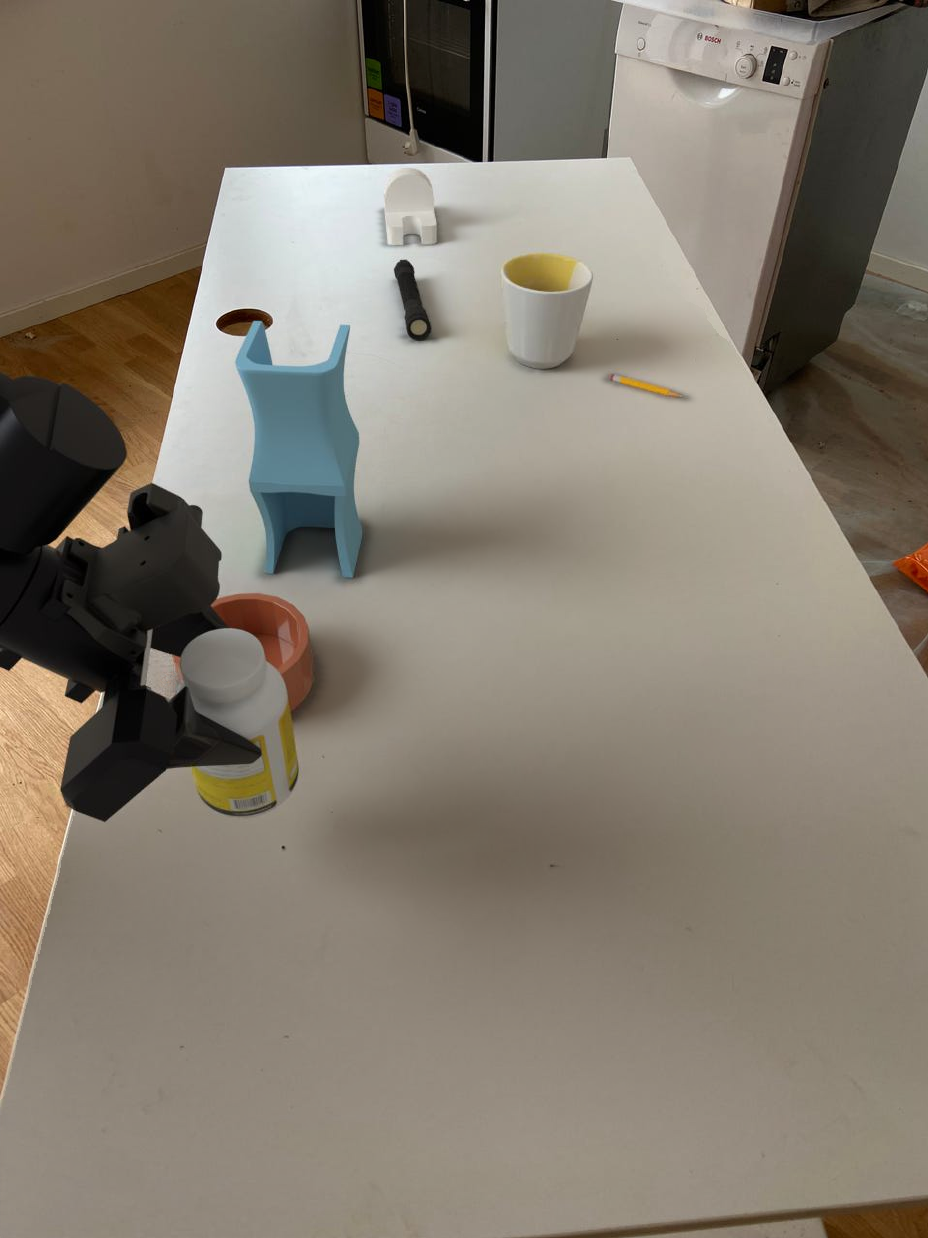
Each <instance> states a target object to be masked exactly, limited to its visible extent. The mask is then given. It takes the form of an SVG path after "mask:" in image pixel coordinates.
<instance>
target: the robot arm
mask: <svg viewBox="0 0 928 1238" xmlns="http://www.w3.org/2000/svg"><path fill="white" fill-rule="evenodd" d="M127 455H128V451H127V446H126V442H125V440H124V437H123V435H122V434H121V432H120V430H119V428H118V427H117V425H116V424H115V423H114V421H113V420H112V419H111V417H110V416H109V415H108V414H107V413H106V412H105V411H104V409H102V408H101V407H100V406H99V405H98V404H96V402H94V401H93V400H92V399H91V398H90V397H88V396H87V395H86V394H84V393H82V392H81V391H80V390H78V389H77V388H76V387H73V386H72V385H70V384H68V383H66V382H61V383H58V382H55V381H53V380H50V379H48V378H43V377H40V376H35V375H23V376H19V377H15V378H12V377H11V376H9V375H7V374H5V372H2V371H0V668H1V669H3V670H5V671H7V672H10V671H11V670H12V669H13V668H14V667H15V666H16V665H17V664H18V663H19V661H21V659H23V660H25V661H27V662H29V663H31V664H34V665H36V666H38V667H40V668H43V669H45V670H46V671H49V672H51V673H53V674H56V675H58V676H60V677H62V678H64V679H67V681H66V682H67V683H66V687H65V692H64V697H65V698H68V699H70V700H72V701H75V702H77V703H79V704H81V705H82V704H84V702H85V701H86V700H88V698H90V696H92V694H94V693H95V692H99V693H101V694H102V693H104V694H103V699H102V705H101V707H100V708H99V710H97V711H96V712H95V713H94V714H93V715H91V717H90V718H89V719H88V720H87V721H86V722H84V724H82V725H81V727H79V728H78V729H77V730H76V731H75V732H74V733H73V734H72V735H70V737H69V742H68V747H67V752H66V757H65V762H64V767H63V773H62V778H61V782H60V783H61V784H60V788H59V791H60V793H61V796H62V798H63V799H64V802H65V805H66V806H67V807H68V808H70V809H71V810H73V811H74V812H78V813H79V814H82V815H85V816H87V817H89V818H93V819H94V820H95V819H96V820H98V821H101V822H103V823H106V822H107V821H108V820H109V819H111V818H112V817H113V816H115V815H116V814H117V813H118V812H119V811H120V810H121V809H122V808H124V807H125V806H126V805H127V804H129V802H131V801H132V800H133V799H135V798H136V796H137V795H139V794H140V793H141V792H142V791H143V790H145V789H146V788H147V787H149V786H150V785H151V784H152V783H153V782H154V781H156V779H158V778H159V777H160V776H161V775H163V774H164V773H165V772H166V771H167V770H172V769H178V768H191V767H197V766H218V765H240V764H252V763H254V762H255V761H256V760H257V759H259V758H260V757H261V756H262V750H261V749H260V748H259V747H258V746H256V745H255V744H253V743H252V742H250V741H249V740H248V739H246V738H244V737H243V736H241V735H239V734H237V733H235V732H233V731H232V730H230V729H228V728H226V727H224V726H222V725H220V724H219V723H217V722H215V721H213V720H211V719H209V718H208V717H206V716H204V715H202V714H200V713H198V712H197V711H196V710H195V709H194V705H193V702H192V698H191V695H190V692H189V689H188V687H187V686H185V687H184V688H183V689H181V690H180V691H179V692H178V693H177V694H176V693H175V695H173V697H171V698H168V697H166V696H165V695H162V694H161V693H158V692H156V691H153V690H152V687H150V686H148V685H147V677H148V671H149V662H150V661H149V660H150V656H151V655H150V654H151V649H152V650H154V651H157V652H162V653H165V654H168V655H171V656H173V655H174V656H178V657H181V655H182V652H183V650H184V649H185V648H186V646H187V645H188V644H189V643H190V642H191V641H192V640H194V639H195V638H196V637H198V636H200V635H202V634H204V633H206V632H209V631H213V630H217V629H224V628H229V626H227V624H226V623H225V622H224V621H223V620H222V619H221V618H220V616H219V615H218V614H217V613H216V612H215V610H214V609H213V608H212V607H211V604H213V602H214V601H215V600H216V599H218V598H219V594H220V589H221V584H220V580H219V569H220V568H219V567H220V562H221V561H222V558H223V556H222V555H223V553H222V551H221V549H220V548H219V546H217V544H216V543H215V542H214V541H213V539H212V538H211V537H210V536H209V535H208V534H207V532H206V531H205V530H204V529H203V527H202V526H203V514H204V512H203V509H202V508H201V507H200V506H199V505H197V504H189V503H187V501H186V500H185V499H184V498H183V497H181V496H179V495H178V494H176V493H174V492H172V491H169V490H168V489H166V488H164V487H162V486H160V485H158V484H156V483H154V482H150V483H148V484H146V485H143V486H141V487H139V488H137V489H135V490H132V492H130V494H129V498H128V499H129V500H128V503H127V504H128V505H127V510H126V515H127V521H128V525H129V529H128V527H126V526H125V525H124V526H122V527H119V528H118V530H117V537H116V539H115V540H114V541H112V542H110V543H108V544H106V545H105V546H103V547H101V546H98V545H94V544H93V543H90V542H88V541H87V540H85V539H83V538H81V537H75V538H72V537H71V536H68V535H66V536H65V537H64V538H63V540H61V541H60V543H58V545H57V546H56V547H52V546H51V545H50V544H52V543H54V542H55V541H56V540H57V539H59V537H60V536H61V535H62V534H63V533H64V531H65V530H66V529H67V528H68V527H69V526H70V525H71V523H72V522H73V521H75V519H76V518H77V517H78V516H79V514H81V512H82V511H83V510H84V509H85V508H86V507H87V505H88V504H90V502H91V501H92V500H93V498H95V497H96V496H97V494H98V493H99V492H100V491H101V490H102V488H103V487H104V486H106V484H107V483H108V482H109V480H111V478H112V477H113V476H114V475H115V474H116V472H118V471H119V469H120V468H121V467H122V466H123V465H124V463H125V461H126V459H127Z"/></svg>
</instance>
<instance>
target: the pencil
mask: <svg viewBox="0 0 928 1238" xmlns="http://www.w3.org/2000/svg"><path fill="white" fill-rule="evenodd" d="M609 380H610V381H611V382H615V383H619V384H622V385H626V386H630V387H633V388H638V389H641V390H645V391H647V392H648V391H649V392H653V393H656V394H660V395H662V396H668V397H674V398H683V397H684V396H683V395H681V394H679V393H678V392H675V391H673V390H671V389H669V388H666V387H663V386H658V385H654V384H652V383H647V382H643V381H640V380H636V379H632V378H629V377H625V376H620V375H617V374H614V373H613V374H611V375H610V377H609Z"/></svg>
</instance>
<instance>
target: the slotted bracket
mask: <svg viewBox="0 0 928 1238" xmlns="http://www.w3.org/2000/svg"><path fill="white" fill-rule="evenodd" d="M383 205H384V218H385V228H386V229H385V230H386V240H387V245H388V246H404V236H407V235H417V236H419V237H420V243H421V246H422V245H423V246H425V245H435V244H437V242H438V241H437V236H438V234H437V228H438V227H437V226H438V225H437V219H436V214H435V196H434V189H433V186H432V183H431V180H430V179H429V178H428V176H427V175H426V173H424V172H422V170H420V169H417V168H413V167H405V168H400V169H398V170H396V171H394V172H393V173H392V174H391V175H390V176H389V177H388V179H387V181H386V183H385V186H384V193H383Z"/></svg>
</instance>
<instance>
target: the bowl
mask: <svg viewBox="0 0 928 1238" xmlns="http://www.w3.org/2000/svg"><path fill="white" fill-rule="evenodd" d="M211 607H212V608H213V609H214V610H215V612H216V613H217V614H218V615H219V616H220V618H221V619H222V620H223V621H224V622H225V623H226V624H227V626H229V628H232V629H239V630H243V631H246V632H248V633H250V634H252V635H253V636H255V637H256V638H257V639H258V640H259V641H260V643H261V645H262V647H263V650H264V654H265V659H266V661H267V662H268V663H270V664H271V665H272V666H274V667H275V668H276V669H277V670H278V672H279V673H280V674H281V676H282V678H283V680H284V682H285V685H286V689H287V695H288V701H289V707H290V713H292V711H294V710H295V709H297V708H298V706H299V705H301V704H302V702H304V700H305V699H306V697H307V696H308V694H309V693H310V690H311V689H312V686H313V683H314V677H315V669H314V666H315V663H314V656H313V649H312V641H311V635H310V634H311V633H310V628H309V626H308V622H307V620H306V617H305V616H304V615H303V613H302V612H301V611H300V610H299V609H298V608H297V607H296V606H295V605H294V604H292V603H290V602H289V601H287V600H284V599H283V598H280V597H279V596H275V595H270V594H265V593H260V592H259V593H258V592H251V593H249V592H247V593H235V594H234V593H233V594H230V595H226V596H221V597H217V599H216V600H215V601H214V602H213V604H211ZM180 658H181V657H178V656H174V655H172V659H173V663H174V668H175V670H176V674H177V678H178V681H179V684H180V683H181V682H182V680H183V678H182V673H181V669H180Z"/></svg>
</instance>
